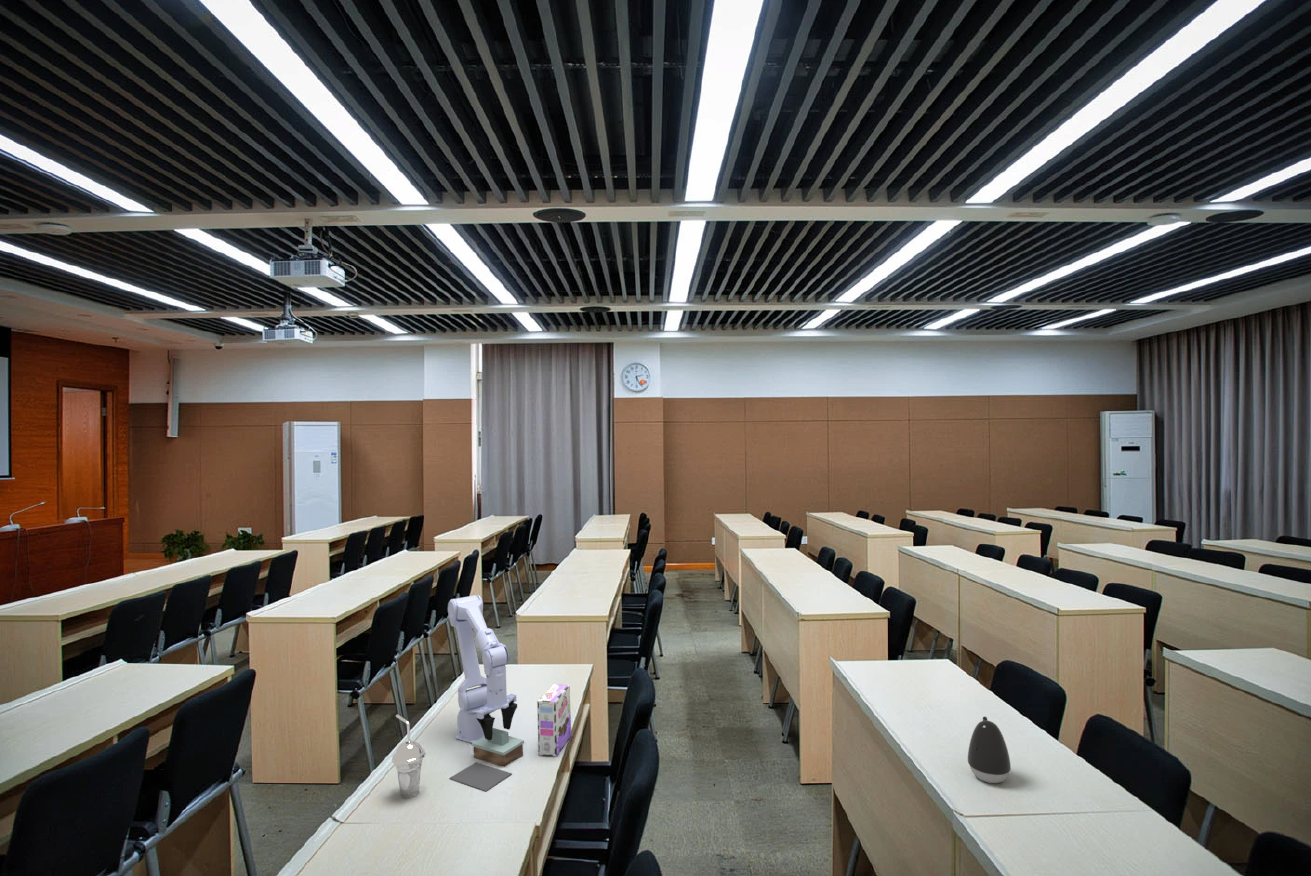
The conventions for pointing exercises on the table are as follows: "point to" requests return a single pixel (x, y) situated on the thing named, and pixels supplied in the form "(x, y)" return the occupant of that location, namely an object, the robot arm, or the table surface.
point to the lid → (498, 742)
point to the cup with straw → (408, 764)
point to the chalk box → (498, 756)
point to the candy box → (554, 720)
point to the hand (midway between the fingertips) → (497, 733)
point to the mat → (480, 776)
